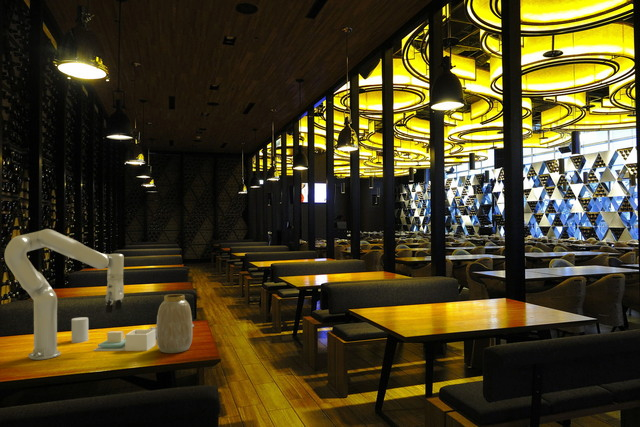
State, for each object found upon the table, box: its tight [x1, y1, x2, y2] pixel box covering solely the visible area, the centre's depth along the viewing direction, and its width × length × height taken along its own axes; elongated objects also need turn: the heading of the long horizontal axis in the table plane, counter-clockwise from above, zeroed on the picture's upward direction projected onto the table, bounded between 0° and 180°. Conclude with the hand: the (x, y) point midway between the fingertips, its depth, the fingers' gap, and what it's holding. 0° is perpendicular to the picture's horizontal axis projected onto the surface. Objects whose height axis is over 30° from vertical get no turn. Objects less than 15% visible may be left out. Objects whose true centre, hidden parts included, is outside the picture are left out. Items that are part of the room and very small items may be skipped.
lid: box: [97, 330, 125, 348], centre depth 238 cm, size 12×12×7 cm
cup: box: [71, 316, 89, 344], centre depth 252 cm, size 8×8×12 cm
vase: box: [156, 293, 193, 354], centre depth 231 cm, size 17×17×27 cm
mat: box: [93, 345, 125, 352], centre depth 238 cm, size 15×15×1 cm
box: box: [124, 329, 157, 352], centre depth 236 cm, size 11×11×8 cm
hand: (114, 310), depth 238 cm, fingers open, 9 cm apart
